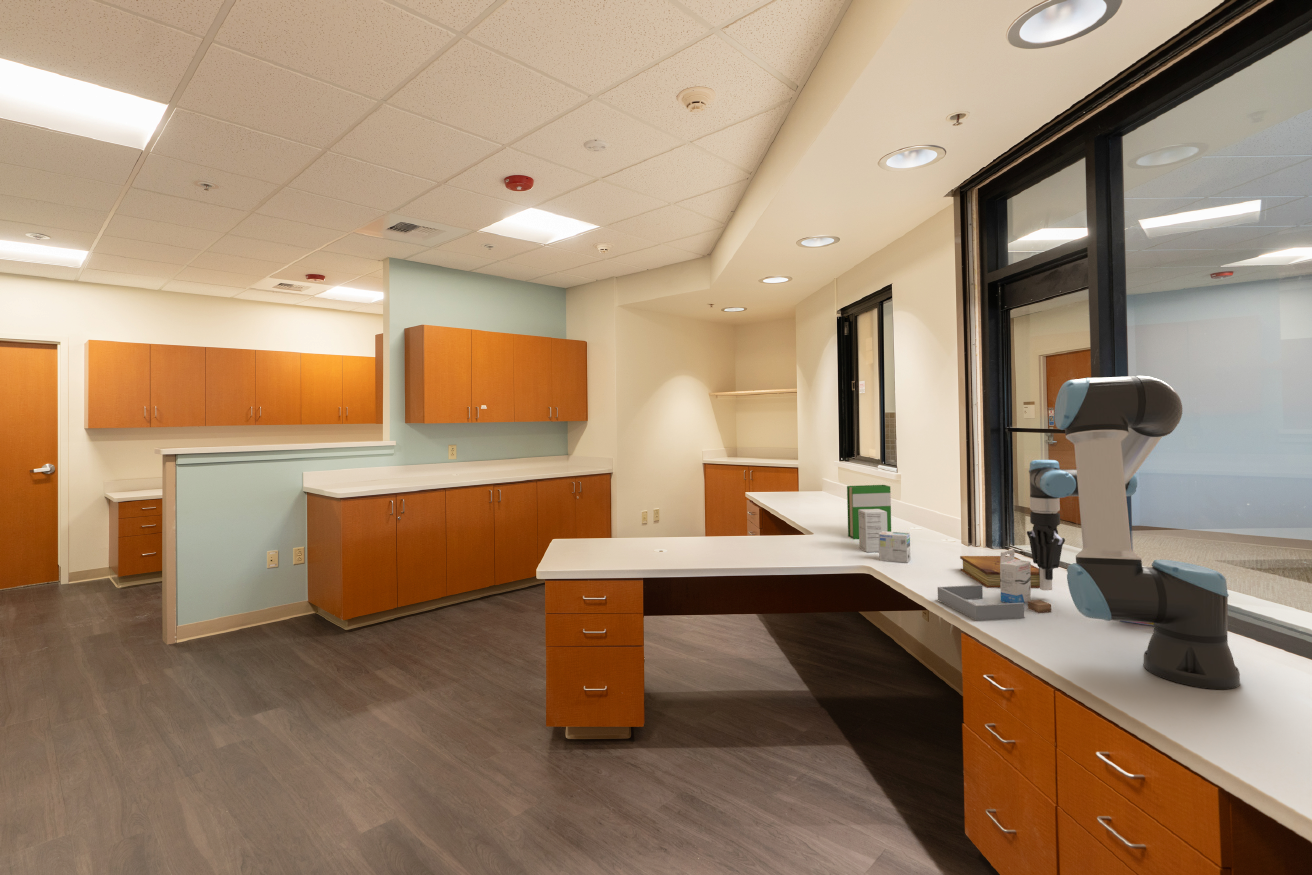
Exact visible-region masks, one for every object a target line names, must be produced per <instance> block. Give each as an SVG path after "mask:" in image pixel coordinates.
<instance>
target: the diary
mask: <svg viewBox="0 0 1312 875" xmlns="http://www.w3.org/2000/svg"><path fill="white" fill-rule="evenodd" d="M1008 556H1009V555H1005V557H1008ZM1000 557H1001V555H960V556H959V559H960V560H962V568H960V571H961V572H963V573H964V574H966V575H967V576H969V577H970V578H972V579H973V580H974V581H977V582H978V583H979V584H980V585H982V586H984V587H986V588H987V589H988V588H990V589H993V588H994V589H997V588H998V589H1000ZM1014 559H1018V560H1021V559H1020V558H1019V557H1016V556H1014ZM1030 578H1031V589H1040V577H1039V567H1038V566H1035V565H1033V564H1031V565H1030Z"/></svg>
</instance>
